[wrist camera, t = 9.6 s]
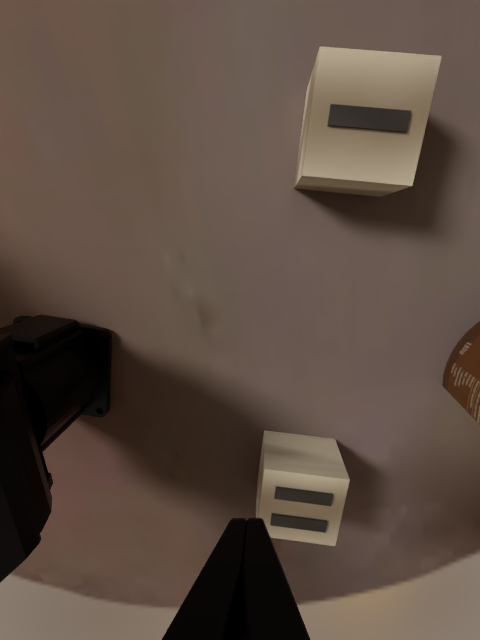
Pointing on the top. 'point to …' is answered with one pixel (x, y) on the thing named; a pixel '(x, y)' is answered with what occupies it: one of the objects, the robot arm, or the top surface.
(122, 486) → the top surface
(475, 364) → the food container
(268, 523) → the numbered tile two
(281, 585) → the robot arm
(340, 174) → the numbered tile one
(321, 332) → the top surface
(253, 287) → the top surface
